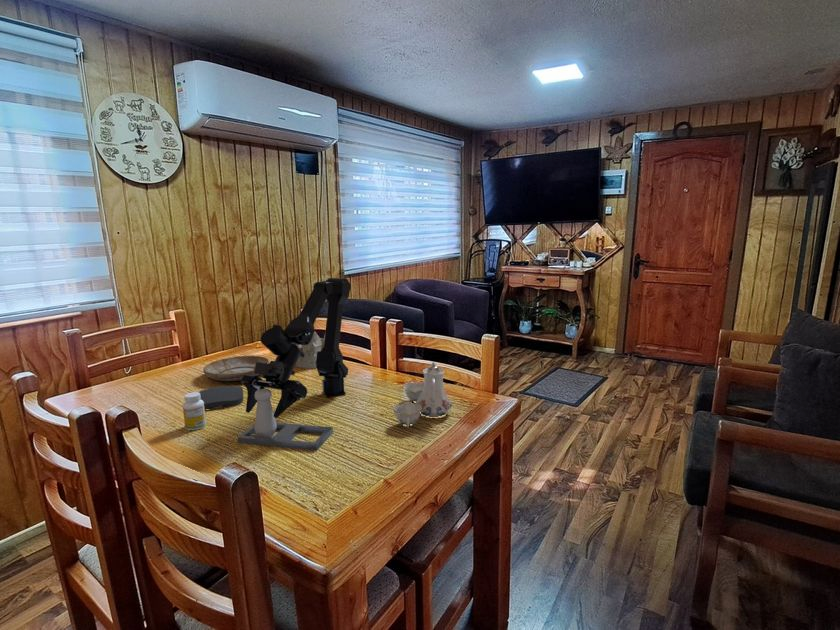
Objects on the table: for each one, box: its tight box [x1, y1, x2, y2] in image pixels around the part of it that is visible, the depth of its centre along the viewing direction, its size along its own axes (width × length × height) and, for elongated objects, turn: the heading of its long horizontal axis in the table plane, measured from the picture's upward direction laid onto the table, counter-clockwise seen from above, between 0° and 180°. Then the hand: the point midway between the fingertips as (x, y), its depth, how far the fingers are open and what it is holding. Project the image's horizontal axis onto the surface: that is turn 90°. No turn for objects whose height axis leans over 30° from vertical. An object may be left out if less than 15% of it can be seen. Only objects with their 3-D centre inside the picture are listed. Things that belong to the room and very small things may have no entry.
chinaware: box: [392, 361, 453, 428], centre depth 135 cm, size 28×17×17 cm, turn 178°
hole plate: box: [236, 421, 334, 451], centre depth 121 cm, size 22×10×2 cm, turn 78°
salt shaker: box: [254, 388, 277, 438], centre depth 121 cm, size 6×6×13 cm
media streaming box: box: [198, 385, 244, 410], centre depth 147 cm, size 15×15×3 cm
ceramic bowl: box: [203, 355, 270, 382], centre depth 172 cm, size 23×24×5 cm
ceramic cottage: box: [295, 331, 325, 370], centre depth 186 cm, size 16×16×15 cm
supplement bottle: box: [182, 391, 207, 431], centre depth 127 cm, size 5×5×10 cm
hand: (260, 414), depth 120 cm, fingers open, 9 cm apart
